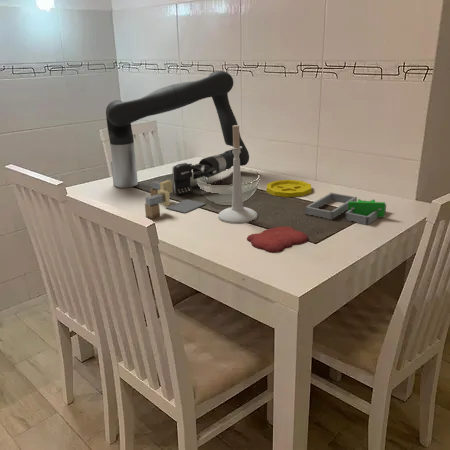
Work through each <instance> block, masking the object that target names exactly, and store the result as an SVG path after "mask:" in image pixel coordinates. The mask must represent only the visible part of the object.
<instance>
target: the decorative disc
mask: <svg viewBox="0 0 450 450" xmlns="http://www.w3.org/2000/svg"><path fill="white" fill-rule="evenodd" d="M265 189H266V191H265V192H266V193H268V194H270V195H272V196H274V197H284V198H295V197H296V198H297V197H305V196H306V195H310V194H311V193H312V190H313V189H312V184H311V183H309V182H307V181H303V180H298V179H281V180H274V181H271V182H267V183H266V188H265Z"/></svg>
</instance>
